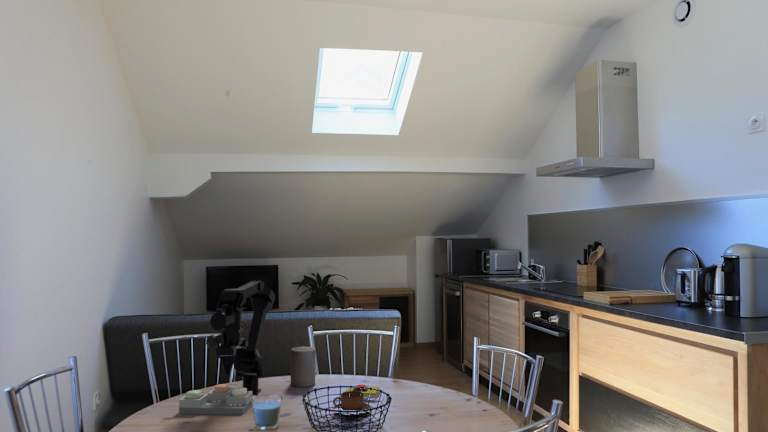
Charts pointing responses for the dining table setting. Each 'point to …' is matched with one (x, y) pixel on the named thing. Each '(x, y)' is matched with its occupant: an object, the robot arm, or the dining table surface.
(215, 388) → the terracotta button
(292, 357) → the pillar candle
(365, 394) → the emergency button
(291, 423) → the dining table surface
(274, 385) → the dining table surface
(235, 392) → the cream button
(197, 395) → the sage button
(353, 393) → the cup and saucer
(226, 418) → the dining table surface
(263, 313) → the robot arm
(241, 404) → the button panel
